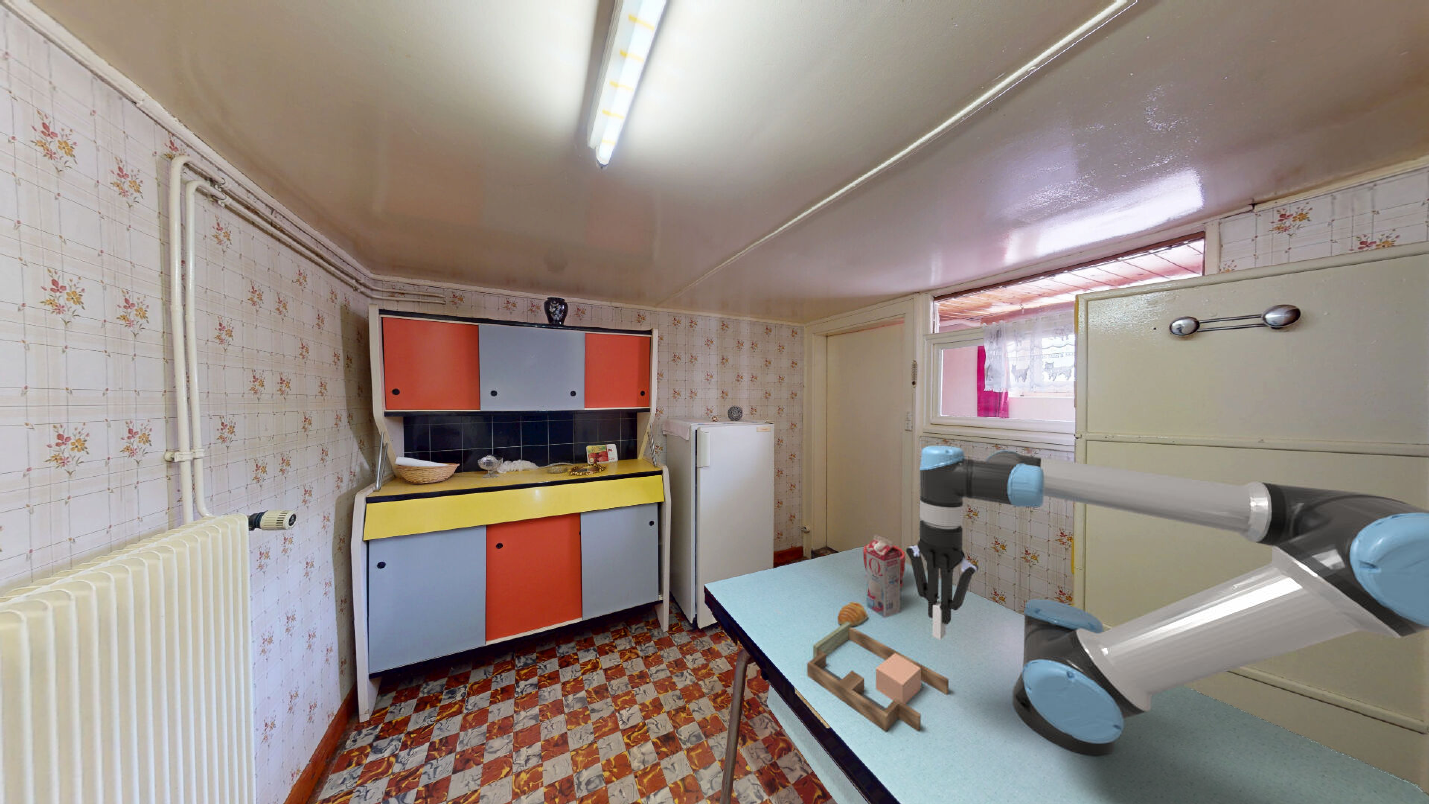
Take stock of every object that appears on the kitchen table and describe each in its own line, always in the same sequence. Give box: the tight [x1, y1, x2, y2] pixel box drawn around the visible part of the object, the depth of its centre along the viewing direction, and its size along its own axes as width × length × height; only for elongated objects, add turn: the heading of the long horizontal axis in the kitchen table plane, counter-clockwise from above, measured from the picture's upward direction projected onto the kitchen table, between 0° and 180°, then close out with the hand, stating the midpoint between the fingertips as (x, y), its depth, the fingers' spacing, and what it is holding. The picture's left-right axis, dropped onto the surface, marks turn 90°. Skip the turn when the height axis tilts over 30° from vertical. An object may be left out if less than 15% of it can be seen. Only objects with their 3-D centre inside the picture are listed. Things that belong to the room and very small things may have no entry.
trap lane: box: [806, 622, 950, 733], centre depth 87 cm, size 25×20×4 cm
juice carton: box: [866, 533, 901, 618], centre depth 115 cm, size 7×7×22 cm
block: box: [875, 653, 922, 705], centre depth 85 cm, size 6×8×5 cm
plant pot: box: [862, 543, 906, 589], centre depth 130 cm, size 13×13×12 cm
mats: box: [821, 666, 887, 711], centre depth 84 cm, size 17×4×1 cm, turn 39°
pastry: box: [837, 601, 869, 627], centre depth 111 cm, size 9×7×4 cm
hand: (939, 635), depth 78 cm, fingers closed
